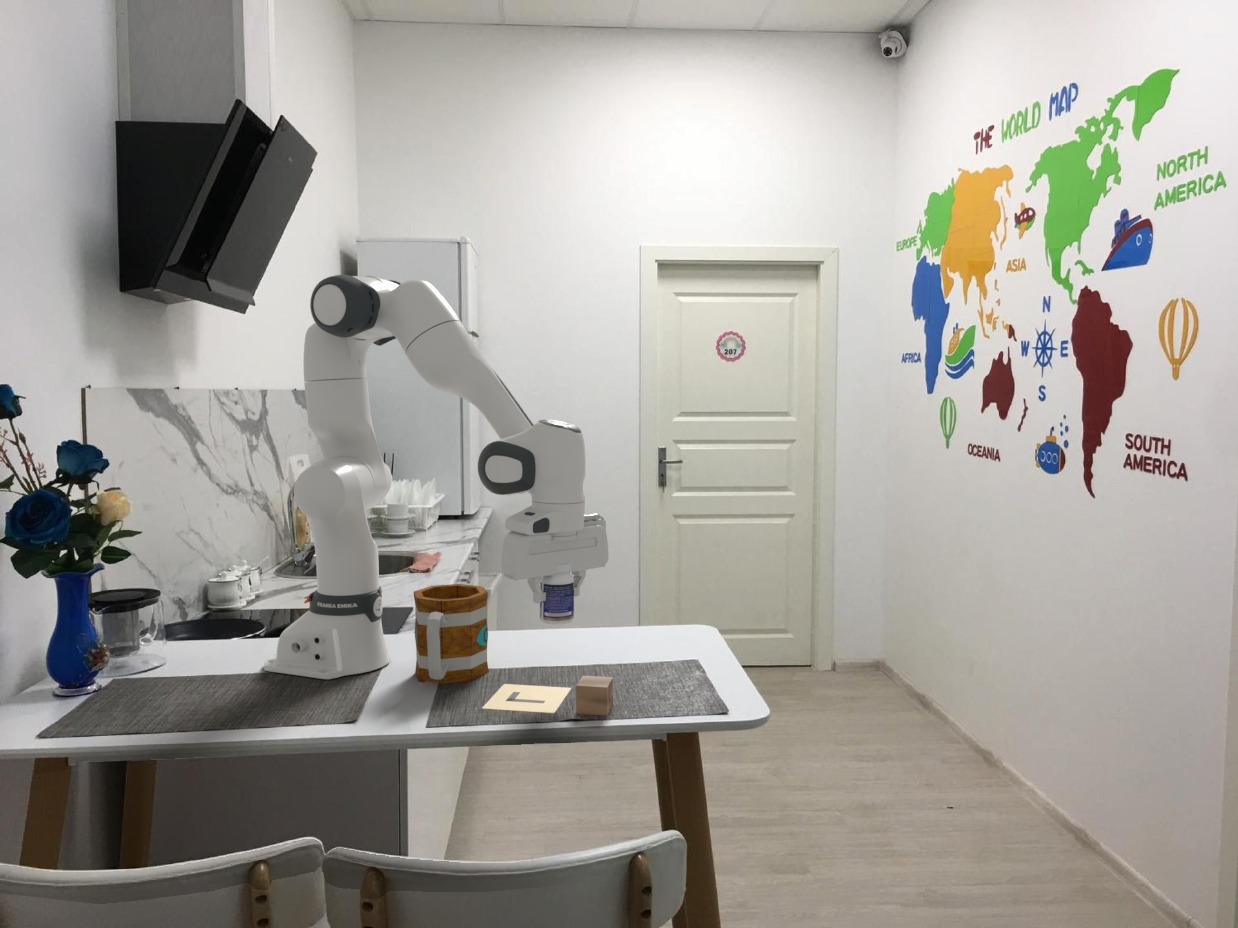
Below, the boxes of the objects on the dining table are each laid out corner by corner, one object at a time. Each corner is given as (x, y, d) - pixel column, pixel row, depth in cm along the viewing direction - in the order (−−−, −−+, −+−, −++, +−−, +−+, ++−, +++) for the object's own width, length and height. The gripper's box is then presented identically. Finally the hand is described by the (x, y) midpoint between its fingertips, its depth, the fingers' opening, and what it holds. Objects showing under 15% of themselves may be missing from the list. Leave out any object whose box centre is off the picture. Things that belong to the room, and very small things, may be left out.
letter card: (481, 710, 145) (481, 708, 145) (504, 685, 157) (504, 683, 157) (554, 715, 143) (554, 712, 143) (571, 689, 155) (571, 687, 155)
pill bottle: (580, 621, 152) (581, 563, 151) (552, 627, 148) (553, 567, 147) (560, 614, 156) (561, 557, 155) (533, 619, 153) (533, 561, 152)
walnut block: (582, 705, 148) (582, 675, 147) (613, 707, 147) (613, 677, 146) (576, 716, 143) (575, 685, 142) (607, 718, 142) (607, 687, 141)
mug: (425, 661, 171) (423, 583, 169) (496, 662, 170) (495, 584, 169) (393, 697, 151) (391, 609, 150) (473, 698, 150) (472, 610, 149)
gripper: (593, 510, 160) (592, 587, 161) (496, 520, 146) (495, 604, 147) (617, 515, 155) (615, 594, 156) (519, 525, 141) (518, 612, 143)
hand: (556, 599), depth 152 cm, fingers closed on pill bottle, 6 cm apart
